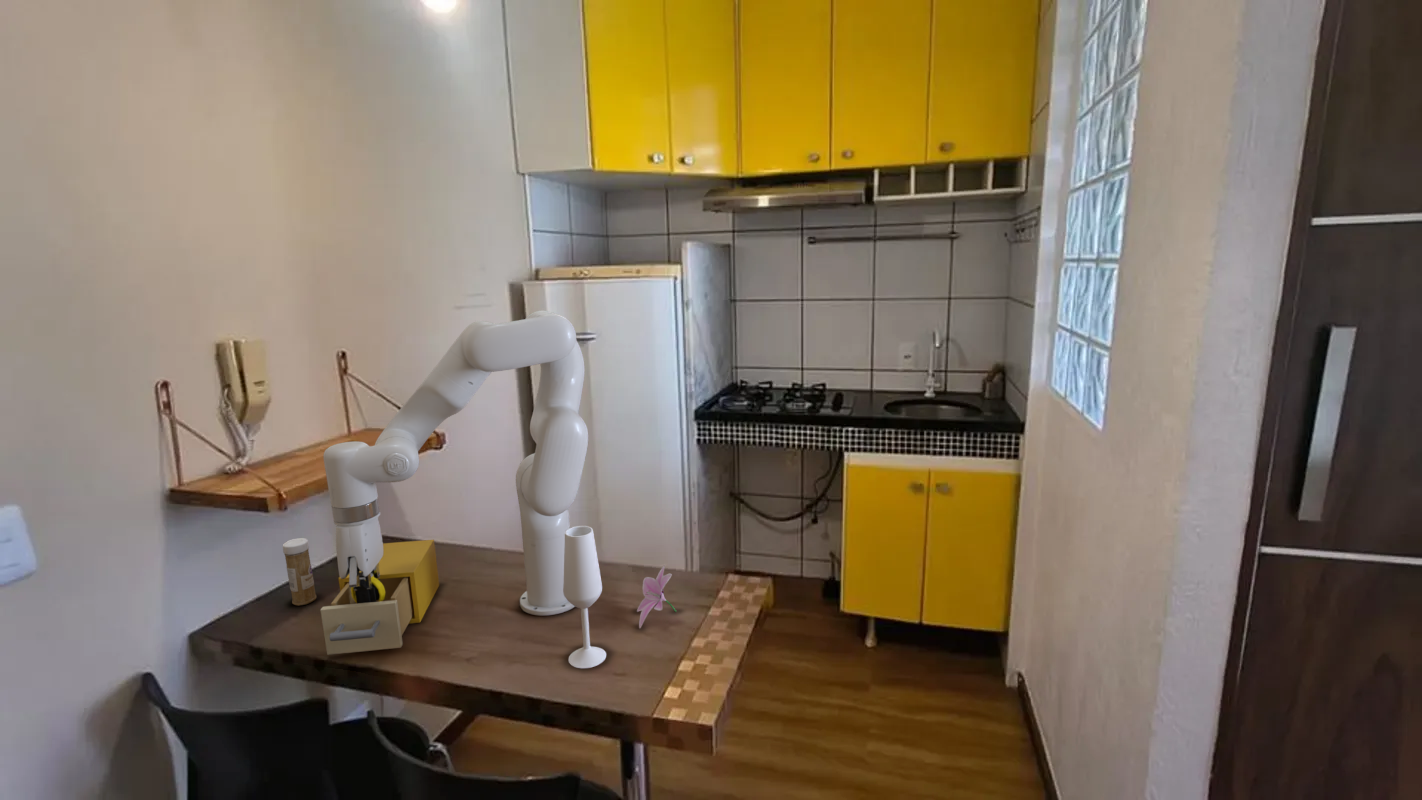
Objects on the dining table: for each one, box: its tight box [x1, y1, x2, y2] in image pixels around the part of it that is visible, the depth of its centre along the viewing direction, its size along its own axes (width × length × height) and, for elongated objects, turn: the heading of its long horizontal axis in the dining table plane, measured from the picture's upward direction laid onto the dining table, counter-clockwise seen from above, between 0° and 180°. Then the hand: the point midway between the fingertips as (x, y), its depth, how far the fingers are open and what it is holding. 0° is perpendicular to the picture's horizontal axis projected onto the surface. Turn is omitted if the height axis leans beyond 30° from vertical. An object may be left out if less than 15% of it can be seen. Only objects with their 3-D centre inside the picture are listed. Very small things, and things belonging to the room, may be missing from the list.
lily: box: [636, 564, 677, 629], centre depth 133 cm, size 12×12×10 cm
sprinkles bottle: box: [282, 537, 317, 607], centre depth 141 cm, size 5×5×14 cm
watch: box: [351, 573, 385, 603], centre depth 125 cm, size 6×3×6 cm, turn 83°
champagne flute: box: [563, 525, 607, 669], centre depth 118 cm, size 7×7×24 cm
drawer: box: [320, 577, 414, 656], centre depth 126 cm, size 19×13×9 cm, turn 9°
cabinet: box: [338, 539, 440, 625], centre depth 139 cm, size 16×14×11 cm
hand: (370, 603), depth 125 cm, fingers closed on watch, 2 cm apart
